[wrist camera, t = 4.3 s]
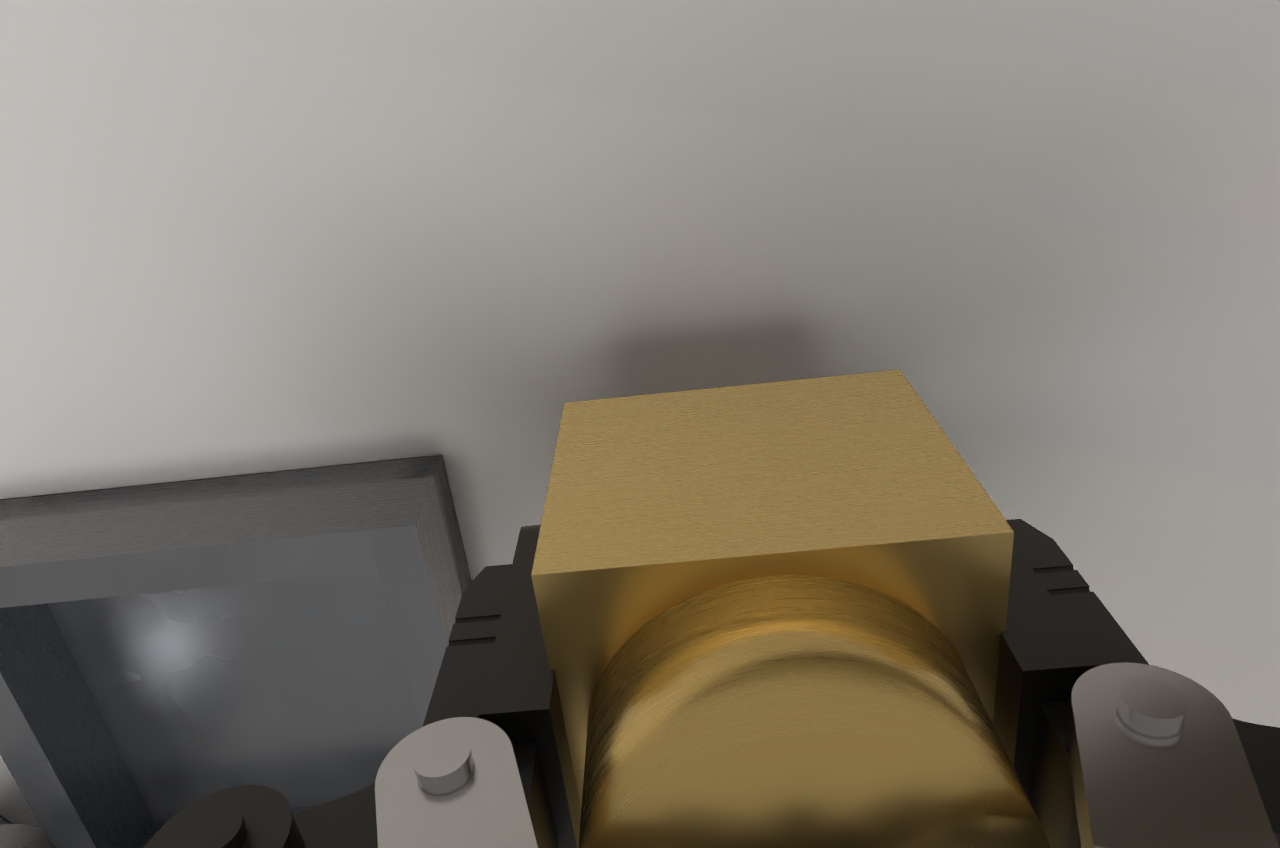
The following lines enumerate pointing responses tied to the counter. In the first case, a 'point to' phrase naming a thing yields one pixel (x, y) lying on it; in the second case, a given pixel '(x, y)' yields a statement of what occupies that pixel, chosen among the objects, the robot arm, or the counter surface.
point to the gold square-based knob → (777, 621)
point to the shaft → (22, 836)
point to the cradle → (220, 639)
